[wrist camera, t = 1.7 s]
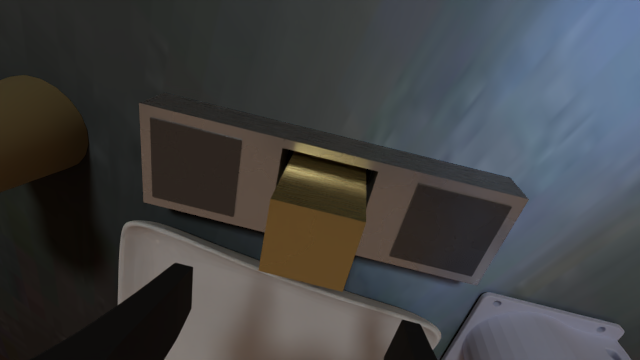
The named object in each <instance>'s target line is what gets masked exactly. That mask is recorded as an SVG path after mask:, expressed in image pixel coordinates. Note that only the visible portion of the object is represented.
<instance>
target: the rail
mask: <svg viewBox="0 0 640 360" xmlns="http://www.w3.org/2000/svg"><path fill="white" fill-rule="evenodd" d="M139 113H140V134H141V155H142V177H143V198H144V202H145V203H149V204H153V205H157V206H161V207H165V208H169V209H173V210H177V211H181V212H185V213H189V214H193V215H197V216H201V217H205V218H209V219H213V220H217V221H221V222H225V223H229V224H233V225H237V226H241V227H245V228H249V229H253V230H257V231H261V232H265V228H266V222H267V216H268V210H269V204H270V198H271V197H272V195H273V193H274V191H275V189H276V187H277V185H278V183H279V181H280V179H281V177H282V175H283V173H284V171H285V167H286V161H287V156H288V150H293V151H297V152H301V153H305V154H309V155H313V156H317V157H321V158H325V159H329V160H333V161H337V162H341V163H345V164H350V165H354V166H358V167H362V168H366V169H370V170H372V171H371V174H370V177H369V180H368V184H367V187H366V225H365V227H364V230H363V233H362V236H361V239H360V242H359V245H358V248H357V251H356V254H355V255H357V256H361V257H365V258H369V259H373V260H377V261H381V262H385V263H389V264H393V265H397V266H401V267H405V268H409V269H413V270H417V271H421V272H425V273H429V274H433V275H437V276H441V277H445V278H449V279H453V280H457V281H461V282H465V283H469V284H473V285H478V283H479V281H480V280H481V278H482V276H483V275H484V273H485V271H486V270H487V268H488V266H489V265H490V263H491V261H492V260H493V258H494V256H495V255H496V253H497V251H498V250H499V248H500V246H501V245H502V243H503V242H504V240H505V238H506V237H507V235H508V233H509V232H510V230H511V228H512V227H513V225H514V223H515V222H516V220H517V218H518V217H519V215H520V213H521V212H522V210H523V208H524V207H525V205H526V203H527V202H528V200H529V199H528V198H527V197H526V195H525V194H524V193H523V192H522V191H521V190H520V188H519V187H518V186H517V185H516V184H515V183H514V181H513V180H512V179H511V178H509V177H505V176H501V175H497V174H493V173H489V172H485V171H481V170H477V169H473V168H469V167H465V166H461V165H457V164H453V163H448V162H444V161H440V160H436V159H432V158H428V157H424V156H420V155H416V154H412V153H408V152H404V151H400V150H396V149H392V148H388V147H384V146H380V145H375V144H371V143H367V142H363V141H359V140H355V139H351V138H347V137H343V136H339V135H335V134H331V133H327V132H323V131H319V130H315V129H311V128H306V127H302V126H298V125H294V124H290V123H286V122H282V121H278V120H274V119H270V118H266V117H262V116H258V115H254V114H250V113H246V112H242V111H237V110H233V109H229V108H225V107H221V106H217V105H213V104H209V103H205V102H201V101H197V100H193V99H189V98H185V97H181V96H177V95H173V94H168V93H162V94H160V95H157V96H155V97H153V98H150V99H148V100H145V101H143V102H140V103H139Z"/></svg>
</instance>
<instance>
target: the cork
mask: <svg viewBox="0 0 640 360" xmlns="http://www.w3.org/2000/svg"><path fill="white" fill-rule="evenodd" d="M88 144H89V142H88V134H87V128H86V126H85V124H84V121H83V119H82V117H81V114H80V113H79V112H78V110H77V109H76V107H75V106H74V105H73V103H72V102H71V101H70V100H69V99H68V98H67V97H66V96H65V95H64V94H63V93H62V92H61V91H59V90H58V89H57V88H56V87H54V86H52V85H51V84H49V83H47V82H45V81H43V80H42V79H39V78H35V77H31V76H27V75H20V76H11V77H8V78H5V79H2V80H0V192H2V191H5V190H8V189H11V188H14V187H17V186H19V185H22V184H25V183H28V182H31V181H33V180H36V179H39V178H42V177H45V176H48V175H50V174H53V173H56V172H59V171H62V170H65V169H67V168H70V167H72V166H74V165H77V164H79V163H80V162H81V160H82V159H83V158H84V157H85V155H86V152H87V148H88Z"/></svg>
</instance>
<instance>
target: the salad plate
mask: <svg viewBox="0 0 640 360" xmlns="http://www.w3.org/2000/svg"><path fill="white" fill-rule="evenodd" d="M174 263H179V264H183V265H187V266H191V267H193V285H192V309H191V311H190V313H189V315H188V317H187V319H186V321H185V324H184V326H183V328H182V330H181V332H180V334H179V336H178V338H177V340H176V341H175V343H174V345H173V346H172V348H171V349H170V351H169V353H168V354H167V356H166V358H165V359H164V360H384V356H385V354H386V352H387V350H388V348H389V345H390V343H391V341H392V339H393V337H394V335H395V333H396V331H397V329H398V327H399V325H400V323H401V321H402V320H406V321H410V322H414V323H418V324H420V325H421V326H422V328H423V330H424V333H425V335H426V337H427V339H428V341H429V343H430V345H431V348H432V350H433V349H434V348H435V347H436V346H437V344H438V343H439V341H440V339H441V333H440V331H439V329H438V328H437V327H436V326H435V325H433V324H432V323H430V322H429V321H427V320H426V319H424V318H422V317H420V316H418V315H416V314H414V313H411V312H409V311H406V310H404V309H401V308H398V307H395V306H392V305H389V304H385V303H382V302H379V301H376V300H373V299H369V298H366V297H363V296H360V295H357V294H354V293H351V292H348V291H345V290H343V292H341V291H337V290H333V289H329V288H325V287H321V286H317V285H313V284H309V283H305V282H301V281H297V280H293V279H289V278H285V277H281V276H277V275H273V274H269V273H265V272H261V271H259V265H260V261H259V260H256V259H254V258H251V257H248V256H246V255H243V254H240V253H238V252H235V251H232V250H230V249H227V248H224V247H222V246H219V245H216V244H214V243H211V242H209V241H206V240H204V239H201V238H199V237H196V236H194V235H191V234H189V233H186V232H184V231H181V230H179V229H176V228H173V227H170V226H167V225H163V224H160V223H156V222H150V221H130V222H127V223H125V225H124V226H123V229H122V232H121V240H120V250H119V274H118V305H119V304H120V303H122V302H123V301H124V300H126V299H127V298H129V297H130V296H131V295H133V294H134V293H136V292H137V291H138V290H140V289H141V288H142V287H144V286H145V285H146V284H148V283H149V282H150V281H152V280H153V279H154V278H155V277H157V276H158V275H159V274H161V273H162V272H163V271H165V270H166V269H167V268H168V267H170V266H171V265H172V264H174Z"/></svg>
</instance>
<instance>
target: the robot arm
mask: <svg viewBox="0 0 640 360" xmlns="http://www.w3.org/2000/svg"><path fill="white" fill-rule="evenodd" d="M192 285H193V267H191V266H187V265H183V264H179V263H174V264H172V265H171V266H170V267H168V268H167V269H166V270H165V271H163V272H162V273H161V274H159V275H158V276H157V277H155V278H154V279H153V280H152V281H150V282H149V283H148V284H146V285H145V286H144V287H142V288H141V289H140V290H138V291H137V292H136V293H134V294H133V295H131V296H130V297H129V298H127V299H126V300H124V301H123V302H122V303H120V304H119V305H117V306H116V307H115V308H113V309H112V310H110V311H109V312H107V313H106V314H104V315H103V316H101V317H100V318H98V319H97V320H95V321H94V322H92V323H91V324H89V325H87V326H86V327H84V328H83V329H81V330H80V331H78V332H77V333H75V334H73V335H72V336H70V337H68V338H67V339H65V340H63V341H62V342H60V343H58V344H57V345H55V346H53V347H51V348H50V349H48V350H46V351H44V352H43V353H41V354H39V355H37V356H35V357H34V358H32V359H30V360H164V359H165V358H166V356H167V354H168V353H169V351H170V349H171V348H172V346H173V345H174V343H175V341H176V340H177V338H178V336H179V334H180V332H181V330H182V328H183V326H184V324H185V321H186V319H187V317H188V315H189V313H190V311H191V309H192ZM495 301H497V302H495ZM623 334H624V330H623V329H622V327H621V326H620V325H618V324H615V323H611V322H607V321H603V320H599V319H595V318H591V317H587V316H583V315H579V314H575V313H571V312H567V311H563V310H559V309H555V308H551V307H547V306H543V305H539V304H535V303H531V302H527V301H523V300H519V299H515V298H511V297H507V296H503V295H499V294H495V293H490V292H487V293H484V294H482V295H481V296H480V298H479V300H478V301H477V303H476V305H475V306H474V308H473V309H472V311H471V313H470V314H469V316H468V317H467V319H466V321H465V322H464V324H463V325H462V327H461V329H460V330H459V332H458V334H457V335H456V337H455V338H454V340H453V342H452V343H451V345H450V346H449V348H448V350H447V351H446V353H445V354H444V356H443V358H442V359H441V360H631V358H630V357H629V356H628V354H627V353H626V352H625V350H624V349H623V348H622V347H621V345H620V344H619V343H618V341H617V340H618V339H619V338H620V337H621V336H622V335H623ZM384 360H437V358H436V356H435V354H434V352H433V350H432V348H431V345H430V343H429V341H428V339H427V337H426V335H425V333H424V330H423V328H422V326H421V325H420V324H418V323H414V322H410V321H406V320H402V321H401V323H400V325H399V327H398V329H397V331H396V333H395V335H394V337H393V339H392V341H391V343H390V345H389V348H388V350H387V352H386V354H385V356H384Z"/></svg>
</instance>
